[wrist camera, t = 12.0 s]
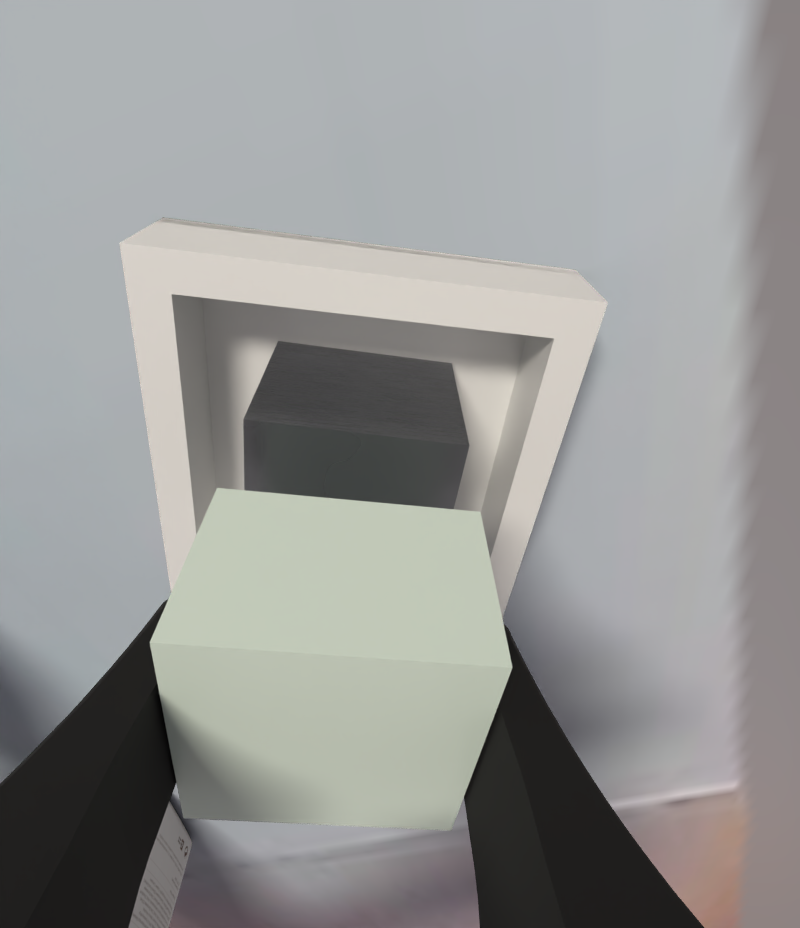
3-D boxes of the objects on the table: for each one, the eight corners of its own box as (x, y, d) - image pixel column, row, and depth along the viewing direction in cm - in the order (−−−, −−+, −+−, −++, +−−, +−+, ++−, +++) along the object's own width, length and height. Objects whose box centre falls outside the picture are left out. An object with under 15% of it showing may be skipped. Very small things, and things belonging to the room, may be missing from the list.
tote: (490, 562, 21) (502, 619, 19) (196, 537, 21) (171, 594, 18) (575, 269, 15) (607, 302, 13) (163, 217, 14) (119, 242, 12)
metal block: (423, 498, 19) (431, 598, 15) (274, 482, 19) (246, 582, 15) (451, 363, 16) (469, 445, 13) (278, 340, 16) (243, 419, 12)
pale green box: (438, 671, 14) (451, 830, 11) (228, 657, 13) (183, 818, 10) (480, 512, 11) (512, 668, 8) (217, 487, 10) (149, 643, 8)
